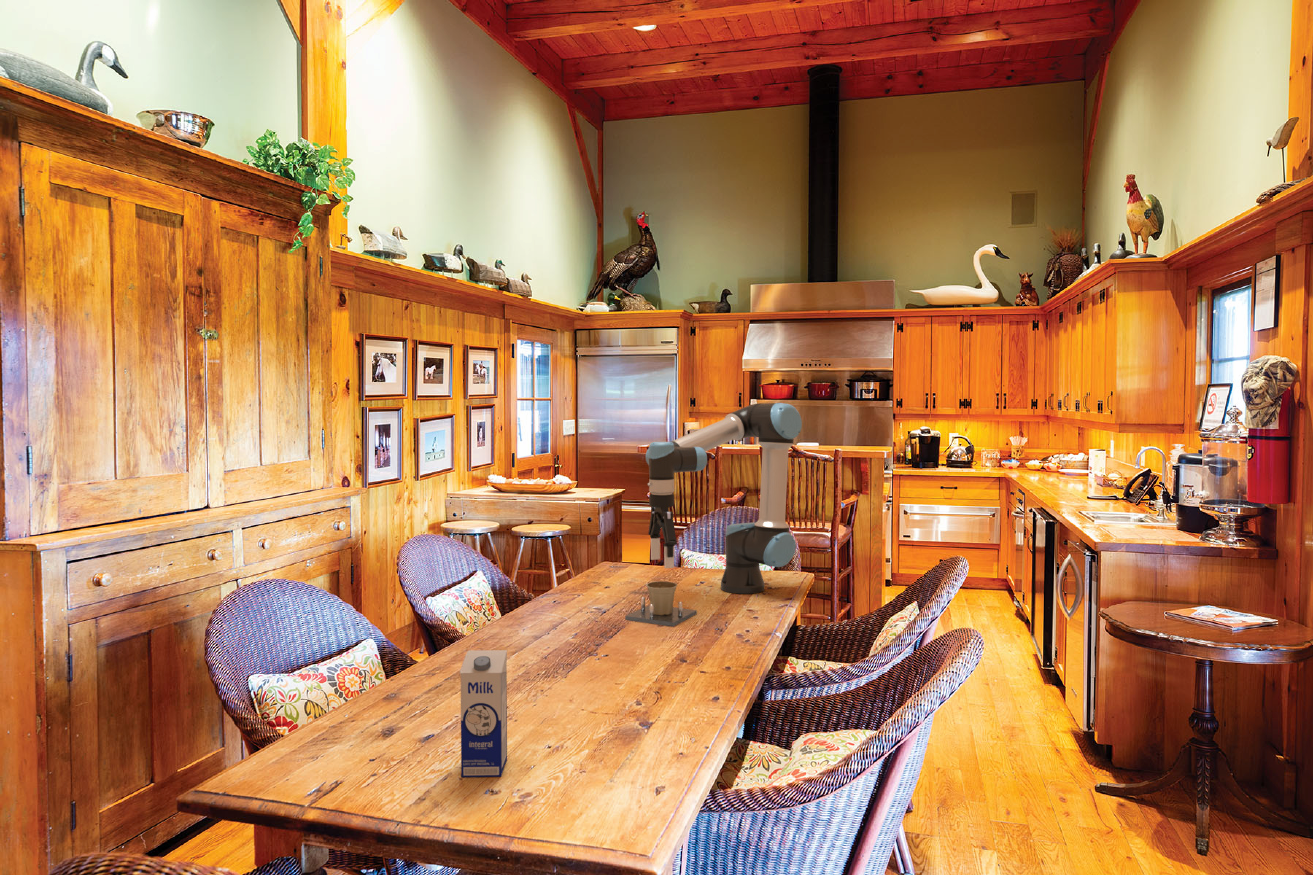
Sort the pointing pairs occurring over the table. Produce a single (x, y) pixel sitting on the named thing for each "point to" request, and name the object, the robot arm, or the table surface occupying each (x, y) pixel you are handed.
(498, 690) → the milk carton
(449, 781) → the table surface
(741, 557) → the robot arm
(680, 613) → the plate
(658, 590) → the flower pot
